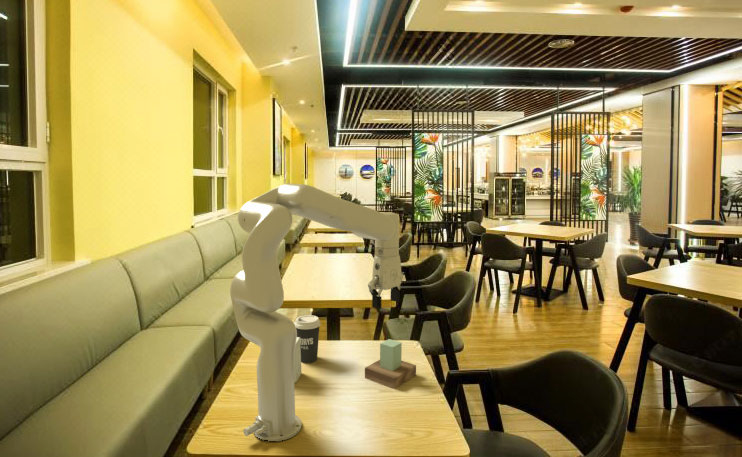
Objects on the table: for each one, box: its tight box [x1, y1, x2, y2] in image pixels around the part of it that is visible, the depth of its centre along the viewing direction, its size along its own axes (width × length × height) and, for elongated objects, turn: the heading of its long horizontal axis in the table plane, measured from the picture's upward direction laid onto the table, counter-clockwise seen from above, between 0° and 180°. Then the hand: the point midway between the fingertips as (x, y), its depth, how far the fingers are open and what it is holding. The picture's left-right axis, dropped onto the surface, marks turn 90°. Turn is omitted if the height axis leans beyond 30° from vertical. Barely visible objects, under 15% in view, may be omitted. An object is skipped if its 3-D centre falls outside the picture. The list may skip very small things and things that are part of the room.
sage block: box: [379, 338, 403, 371], centre depth 156 cm, size 5×5×8 cm
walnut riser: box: [364, 359, 417, 390], centre depth 157 cm, size 12×12×4 cm
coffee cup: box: [293, 314, 322, 364], centre depth 169 cm, size 10×10×15 cm
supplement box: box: [294, 337, 302, 384], centre depth 155 cm, size 7×7×13 cm
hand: (386, 304), depth 153 cm, fingers open, 9 cm apart
